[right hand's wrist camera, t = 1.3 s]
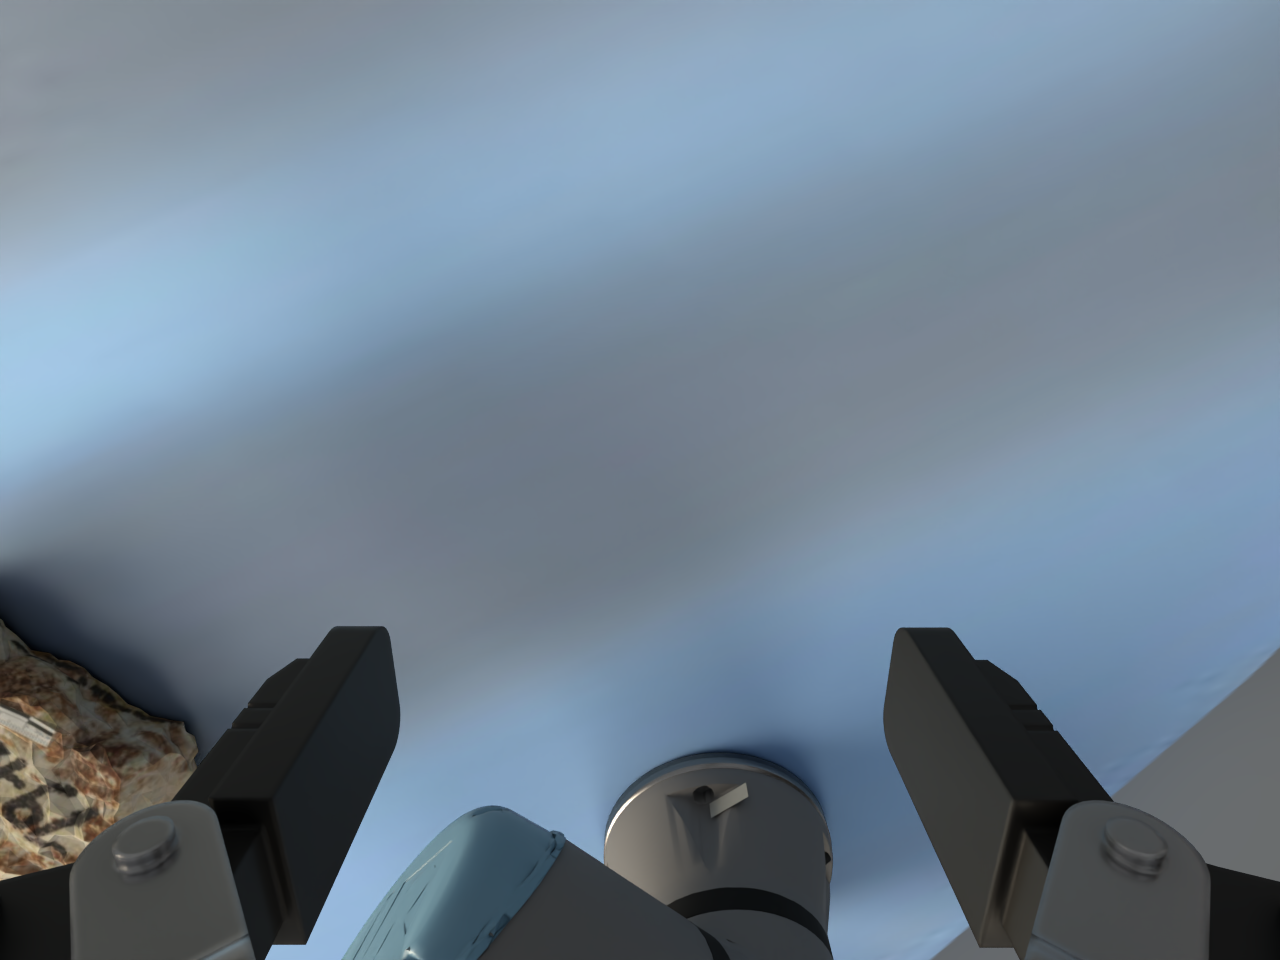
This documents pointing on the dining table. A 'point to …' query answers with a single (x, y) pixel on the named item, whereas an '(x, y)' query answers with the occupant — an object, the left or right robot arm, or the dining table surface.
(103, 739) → the stone
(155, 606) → the dining table surface
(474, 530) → the dining table surface
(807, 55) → the dining table surface
